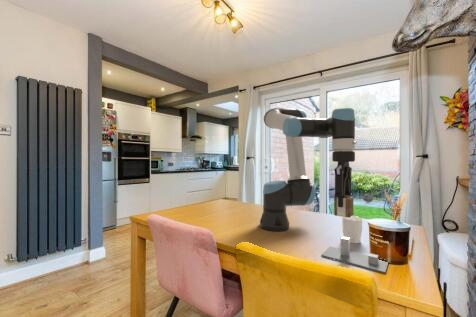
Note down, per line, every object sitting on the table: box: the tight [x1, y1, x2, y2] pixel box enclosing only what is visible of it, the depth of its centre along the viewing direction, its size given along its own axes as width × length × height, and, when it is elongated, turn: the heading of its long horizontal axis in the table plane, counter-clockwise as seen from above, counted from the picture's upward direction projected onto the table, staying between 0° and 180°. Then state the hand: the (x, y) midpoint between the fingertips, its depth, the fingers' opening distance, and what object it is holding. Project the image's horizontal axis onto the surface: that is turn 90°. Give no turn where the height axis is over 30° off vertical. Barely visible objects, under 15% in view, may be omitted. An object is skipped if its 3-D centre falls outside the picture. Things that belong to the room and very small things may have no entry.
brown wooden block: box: [333, 195, 354, 218], centre depth 85 cm, size 5×5×7 cm
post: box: [340, 235, 351, 257], centre depth 85 cm, size 3×3×7 cm
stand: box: [320, 246, 389, 275], centre depth 83 cm, size 20×10×3 cm, turn 51°
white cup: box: [341, 215, 363, 244], centre depth 101 cm, size 8×8×10 cm
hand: (343, 214), depth 85 cm, fingers closed on brown wooden block, 5 cm apart
